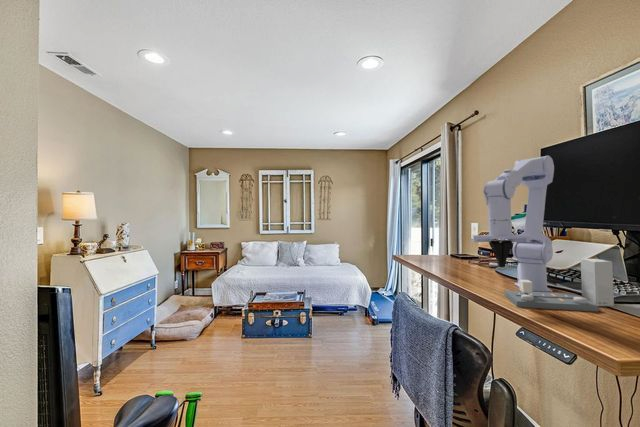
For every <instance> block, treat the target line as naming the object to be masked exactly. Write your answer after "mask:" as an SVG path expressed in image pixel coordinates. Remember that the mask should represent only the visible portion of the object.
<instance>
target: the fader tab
mask: <svg viewBox="0 0 640 427" xmlns="http://www.w3.org/2000/svg"><path fill="white" fill-rule="evenodd" d="M519 287H520V288H519ZM519 287H518V288H519V291H522V292H523V293H524V295H528V293H532V292H533V291H532V282H531V281H529V280H519Z"/></svg>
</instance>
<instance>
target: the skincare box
mask: <svg viewBox="0 0 640 427" xmlns="http://www.w3.org/2000/svg"><path fill="white" fill-rule="evenodd" d="M613 270H614V269H613V262H612V261H610V260H605V259H599V258H580V278H581V282H580V284H581V297H583V298H587V299H588V301H590V302H592V303H594V304H596V305H598V306H599V307H615V300H614V298H615V297H614V296H615V295H614V277H613V276H614V274H613V273H614V272H613Z"/></svg>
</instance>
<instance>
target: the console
mask: <svg viewBox="0 0 640 427" xmlns="http://www.w3.org/2000/svg"><path fill="white" fill-rule="evenodd" d="M503 292H504V293H503V294H504V296H505V297H506V298H507V299H508V300H509V301H510V303H512V304H513V305H514V306H516V307H517V308H528V309H529V308H531V309H545V310H546V309H550V310H562V311H563V310H566V311H567V310H568V311H583V312H584V311H585V312H600V311H599V310H600V308H599V307H600V306H598V305H596V304H594V303H592V302H590V301H588V299H587V298H583V297H582V295H578V294H577V293H574V292H542V291H532V293H528V295H524V293H523V292H522V291H521V290H506V289H505V290H504V291H503Z"/></svg>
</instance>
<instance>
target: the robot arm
mask: <svg viewBox="0 0 640 427" xmlns="http://www.w3.org/2000/svg"><path fill="white" fill-rule="evenodd" d="M554 173H555V165H554V160H553V158H552V157H551V156H550V155H545V156H539V157H533V158H532V157H531V158H527V159H526V158H525V159H517V160H516V161H515V162H514V166H513V168H512V169H511V168H506V169H504V170H503V172H502V173H501V174H500V175H498V176H497V177H496V178H495V179H494V180H489V181H487V182H486V183H485V184H484V185H483V186H484V187H483V190H482V193H483V196H484V198H485V205H486V206H487V211H488V212H487V213H488V214H487V215H488V234H480V235H479V234H478V235H477V234H476V235H472V242H473V243H488V244H489V246H490V248H491V250H492V251H493V252H492V253H493V254H494V256H495V260H496V263H497V266H498V267H499V268H505V267H506V263H507V259H508V256H509V255H510V252H511V250H512V255H513V257H514V258H515V259H516V261H517V262H519V263H518V264H517V267H516V269H517V282H514V285H515V286H517V287H518V288H519V289H520V287H519V280H529V281H531V282H532V292H553V289H551V288H549V287H548V281H547V280H548V276H547V263H549V262H550V261H552V258H553V254H554V251H553V241H552V239H551V238H550V237H548V236H547V235H545V233H543V231H544V230H543V227H544V217H545V210H546V208H545V207H546V205H545V204H546V197H547V189H548V185H550V184H551V183H553V180H554V179H553V178H554V175H555V174H554ZM520 185H522V186H525V187H528V195H527V203H526V212H525V213H526V214H525V222H524V230H523V231H524V232H522V233H520V234H512V233H513V232H512V206H511V205H512V203H511V201H512V200H511V199H512V198H514V196H515V191H516V189H517V188H518V187H519V186H520Z"/></svg>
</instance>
